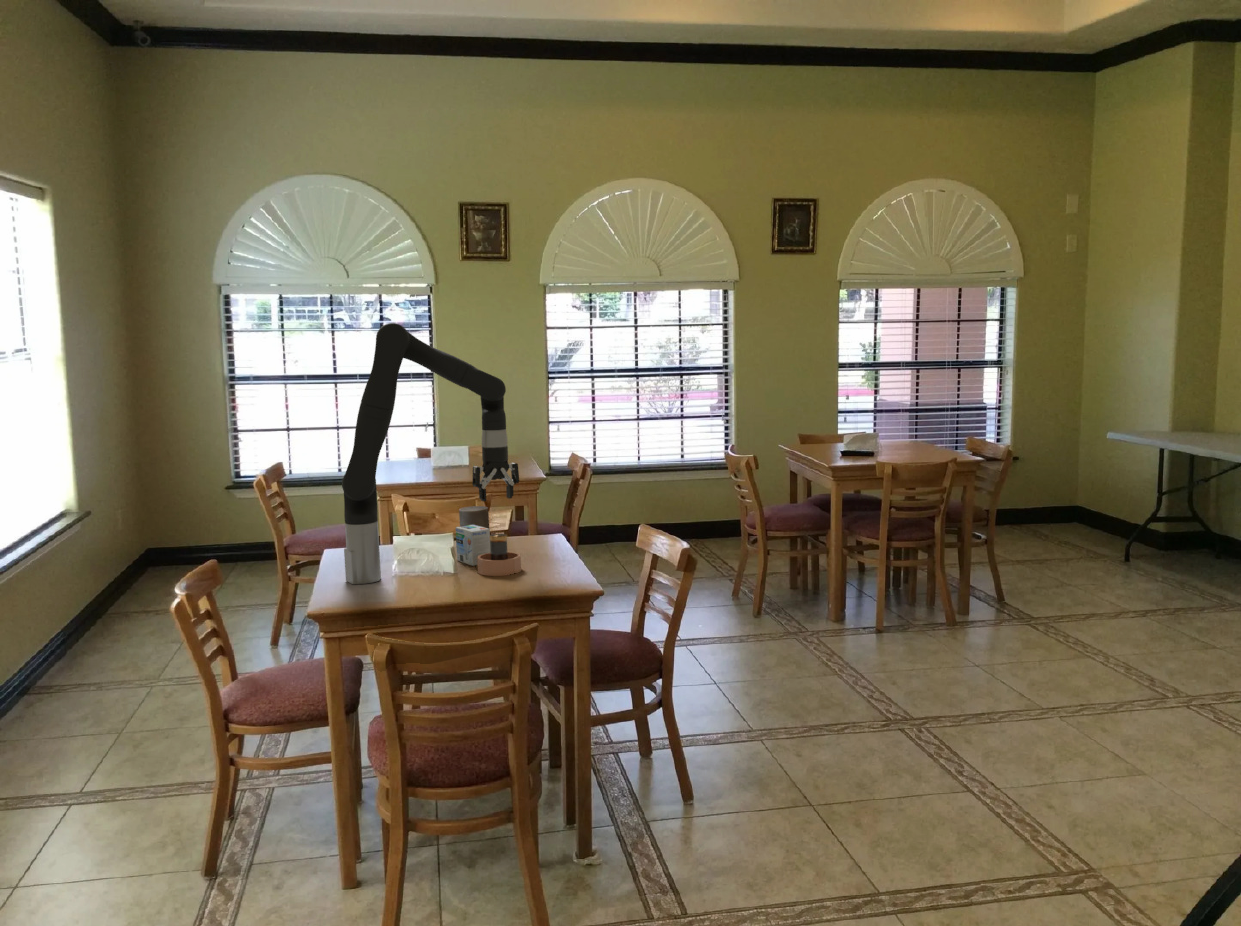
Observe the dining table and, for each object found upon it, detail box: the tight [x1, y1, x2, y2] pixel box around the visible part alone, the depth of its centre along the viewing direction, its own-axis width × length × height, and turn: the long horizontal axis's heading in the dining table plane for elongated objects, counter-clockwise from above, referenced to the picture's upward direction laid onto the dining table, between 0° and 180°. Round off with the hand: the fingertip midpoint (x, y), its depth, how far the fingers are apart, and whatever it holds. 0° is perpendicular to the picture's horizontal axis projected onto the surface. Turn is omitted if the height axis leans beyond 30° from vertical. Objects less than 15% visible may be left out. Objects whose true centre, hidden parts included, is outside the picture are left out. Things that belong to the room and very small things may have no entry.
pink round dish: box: [477, 551, 522, 577], centre depth 301 cm, size 13×13×4 cm
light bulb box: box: [455, 525, 491, 567], centre depth 315 cm, size 11×7×11 cm, turn 38°
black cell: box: [490, 533, 508, 560], centre depth 301 cm, size 5×5×10 cm
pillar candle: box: [458, 505, 490, 529], centre depth 334 cm, size 10×10×15 cm
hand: (496, 499), depth 299 cm, fingers open, 8 cm apart
